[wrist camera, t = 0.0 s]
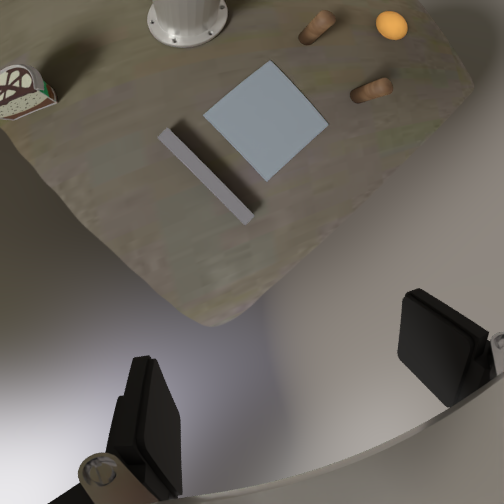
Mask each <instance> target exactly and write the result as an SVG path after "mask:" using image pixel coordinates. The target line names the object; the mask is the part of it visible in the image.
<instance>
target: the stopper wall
mask: <svg viewBox="0 0 504 504" xmlns="http://www.w3.org/2000/svg"><path fill="white" fill-rule="evenodd" d="M157 138H158V139H159V140H160V141H161V142H162V143H163V144H164V145H165V146H166V147H167V148H168V149H169V150H170V151H171V152H172V153H173V154H174V155H175V156H176V157H177V158H178V159H179V160H180V161H181V162H182V163H183V164H184V165H185V166H186V167H187V168H188V169H189V170H190V171H191V172H192V173H193V174H194V175H195V176H196V177H197V178H198V179H199V180H200V181H201V182H202V183H203V184H204V185H205V186H206V187H207V188H208V189H209V190H210V191H211V192H212V193H213V194H214V195H215V196H216V197H217V198H218V199H219V200H220V201H221V202H222V203H223V204H224V205H225V206H226V207H227V208H228V209H229V210H230V211H231V212H232V213H233V214H234V215H235V216H236V217H237V218H238V219H239V220H240V221H241V222H242V223H243V224H244V225H246V224H247V223H248V222H249V221H250V220H251V219H252V218H253V217H254V214H253V213H252V212H251V211H250V210H249V209H248V208H247V207H246V206H245V205H244V204H243V203H242V202H241V201H240V200H239V199H238V198H237V197H236V196H235V195H234V194H233V193H232V192H231V191H230V190H229V189H228V188H227V187H226V186H225V185H224V184H223V183H222V182H221V181H220V180H219V179H218V177H217V176H216V175H215V174H214V173H213V172H212V171H211V170H210V169H209V168H208V167H207V166H206V165H205V164H204V163H203V162H202V161H201V160H200V159H199V158H198V157H197V156H196V155H195V154H194V153H193V152H192V151H191V150H190V149H189V148H188V147H187V146H186V145H185V144H184V143H183V142H182V141H181V140H180V139H179V138H178V137H177V136H176V135H175V134H174V133H173V132H172V131H171V130H170V129H169V128H166V129H165V130H164V131H163V132H162V133H161V134H160V135H159V136H158V137H157Z"/></svg>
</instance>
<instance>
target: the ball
mask: <svg viewBox="0 0 504 504" xmlns="http://www.w3.org/2000/svg"><path fill="white" fill-rule="evenodd" d="M376 27H377V29H378V31H379V32H380V33H381V34H382V35H383V36H384V37H386V38H388V39H391V40H398V39H401V38H403V37H404V36H405V35H406V33H407V29H408V27H407V23H406V21H405V19H404V18H403V17H402V16H401V15H399V14H398V13H396V12H392V11H386V12H383V13H381V14H380V15H379V16H378V17H377V19H376Z"/></svg>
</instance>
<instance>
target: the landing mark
mask: <svg viewBox="0 0 504 504" xmlns="http://www.w3.org/2000/svg"><path fill="white" fill-rule="evenodd" d="M203 116H204V117H205V118H206V119H207V120H208V121H209V122H210V123H211V124H212V125H213V126H214V127H215V128H216V129H217V130H218V131H219V132H220V133H221V134H222V135H223V136H224V137H225V138H226V139H227V140H228V141H229V142H230V144H231V145H232V146H233V147H234V148H235V149H236V150H237V151H238V152H239V153H240V154H241V155H242V156H243V157H244V158H245V159H246V160H247V161H248V162H249V163H250V164H251V165H252V167H253V168H254V169H255V170H256V171H257V172H258V173H259V174H260V175H261V176H262V177H263V178H264V179H265V180H266V182H267V181H268V180H269V179H270V178H271V177H272V176H273V175H274V174H275V173H277V172H278V171H279V170H280V169H281V168H282V167H283V166H284V165H285V164H286V163H287V162H288V161H289V160H291V159H292V158H293V157H294V156H295V155H296V154H297V153H298V152H299V151H300V150H301V149H302V148H304V147H305V146H306V145H307V144H308V143H309V142H310V141H311V140H312V139H313V138H315V137H316V136H317V135H318V134H319V133H320V132H321V131H322V130H323V129H325V128H326V127H327V126H328V125H329V124H328V123H327V122H326V121H325V119H324V118H323V117H322V116H321V115H320V114H319V112H318V111H317V110H316V109H315V108H314V107H313V105H312V104H311V103H310V102H309V101H308V100H307V99H306V97H305V96H304V95H303V94H302V93H301V92H300V91H299V90H298V89H297V87H296V86H295V85H294V84H293V83H292V82H291V81H290V80H289V79H288V78H287V77H286V76H285V75H284V74H283V73H282V72H281V71H280V70H279V68H278V67H277V66H276V65H275V64H274V63H273V62H272V61H271V60H270V61H269V62H267V63H266V64H265V65H263V66H262V67H261V68H259V69H258V70H257V71H256V72H254V73H253V74H252V75H250V76H249V77H248V78H247V79H245V80H244V81H243V82H242V83H240V84H239V85H238V86H237V87H235V88H234V89H233V90H232V91H231V92H229V93H228V94H227V95H226V96H225V97H223V98H222V99H221V100H220V101H219V102H218V103H216V104H215V105H214V106H213V107H212V108H211V109H210V110H208V111H207V112H206V113H205V114H204V115H203Z"/></svg>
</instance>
